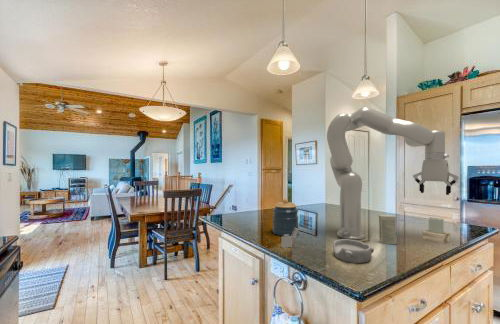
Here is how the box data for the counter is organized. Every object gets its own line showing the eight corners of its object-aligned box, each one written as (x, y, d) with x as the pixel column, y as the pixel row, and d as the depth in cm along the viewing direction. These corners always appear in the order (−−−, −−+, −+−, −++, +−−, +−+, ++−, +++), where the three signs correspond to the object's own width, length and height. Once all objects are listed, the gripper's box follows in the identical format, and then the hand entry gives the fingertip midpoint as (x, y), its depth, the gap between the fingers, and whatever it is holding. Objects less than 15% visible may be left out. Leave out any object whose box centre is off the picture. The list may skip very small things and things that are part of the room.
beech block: (442, 244, 111) (442, 235, 111) (422, 240, 118) (422, 231, 118) (450, 241, 115) (450, 233, 115) (430, 237, 122) (430, 229, 122)
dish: (352, 267, 85) (352, 252, 85) (324, 254, 98) (324, 241, 98) (382, 260, 91) (382, 246, 91) (352, 249, 103) (352, 237, 104)
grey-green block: (442, 233, 113) (442, 220, 113) (428, 231, 117) (428, 218, 117) (443, 231, 117) (443, 219, 117) (430, 229, 120) (430, 217, 120)
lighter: (282, 248, 104) (282, 228, 104) (281, 246, 106) (281, 227, 106) (298, 247, 105) (298, 228, 105) (297, 246, 107) (297, 227, 107)
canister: (302, 232, 129) (302, 198, 130) (292, 238, 118) (292, 200, 119) (279, 229, 136) (279, 196, 136) (268, 234, 125) (268, 199, 126)
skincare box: (394, 242, 113) (394, 214, 113) (396, 244, 109) (396, 216, 109) (378, 240, 115) (378, 213, 115) (380, 243, 111) (380, 215, 111)
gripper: (459, 157, 114) (459, 195, 113) (415, 157, 126) (415, 191, 126) (457, 156, 108) (457, 196, 108) (411, 157, 121) (411, 192, 121)
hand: (434, 193), depth 117 cm, fingers open, 9 cm apart
